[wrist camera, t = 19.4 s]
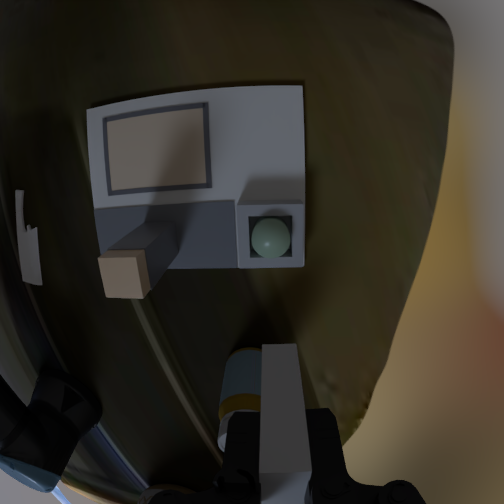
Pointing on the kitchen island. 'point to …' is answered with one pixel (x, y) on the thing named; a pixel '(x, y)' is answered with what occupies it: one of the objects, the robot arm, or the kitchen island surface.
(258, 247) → the button
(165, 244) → the two-tone square rod
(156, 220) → the board
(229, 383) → the bottle
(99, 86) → the kitchen island surface
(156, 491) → the vase
